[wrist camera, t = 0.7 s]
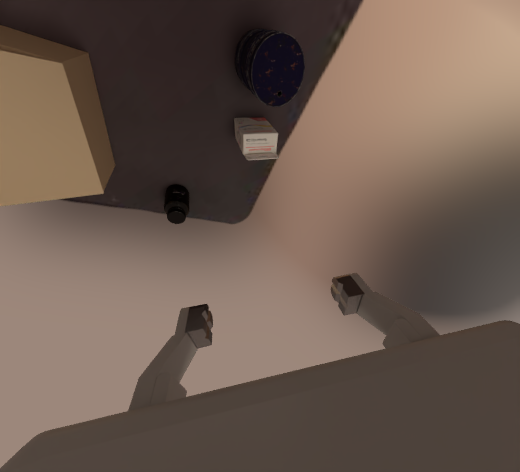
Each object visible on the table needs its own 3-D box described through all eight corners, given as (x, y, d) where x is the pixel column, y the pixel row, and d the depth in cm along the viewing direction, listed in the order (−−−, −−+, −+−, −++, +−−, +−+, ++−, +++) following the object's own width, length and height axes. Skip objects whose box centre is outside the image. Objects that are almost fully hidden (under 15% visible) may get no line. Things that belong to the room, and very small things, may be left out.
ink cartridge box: (264, 115, 50) (284, 137, 40) (263, 135, 53) (280, 159, 44) (233, 116, 48) (245, 139, 38) (234, 137, 51) (246, 162, 42)
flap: (-251, -4, 15) (-254, -3, 15) (61, 62, 26) (62, 63, 26) (-38, 208, 30) (-38, 211, 29) (103, 191, 41) (103, 193, 41)
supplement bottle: (181, 180, 56) (181, 205, 49) (192, 197, 62) (194, 221, 54) (160, 188, 57) (157, 214, 49) (173, 204, 62) (172, 229, 54)
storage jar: (228, 34, 37) (245, 39, 27) (275, 22, 37) (306, 23, 28) (240, 94, 45) (256, 114, 35) (278, 84, 45) (304, 100, 36)
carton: (-74, 1, 26) (-174, -7, 19) (88, 52, 34) (61, 62, 26) (16, 151, 41) (-21, 181, 34) (115, 165, 48) (103, 191, 41)
